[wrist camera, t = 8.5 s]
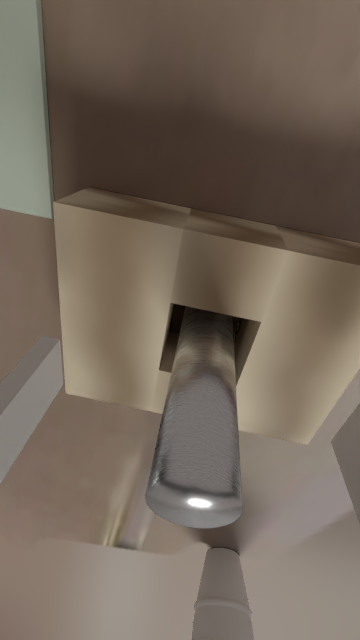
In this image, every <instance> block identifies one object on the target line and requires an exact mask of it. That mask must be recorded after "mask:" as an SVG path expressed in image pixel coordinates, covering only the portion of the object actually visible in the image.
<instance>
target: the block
mask: <svg viewBox="0 0 360 640" xmlns="http://www.w3.org/2000/svg"><path fill="white" fill-rule="evenodd" d="M53 210H54V224H55V239H56V254H57V269H58V284H59V298H60V313H61V328H62V343H63V358H64V372H65V387H66V393H67V394H71V395H76V396H81V397H86V398H90V399H95V400H100V401H104V402H109V403H114V404H118V405H123V406H128V407H132V408H137V409H142V410H146V411H151V412H156V413H160V414H163V410H164V405H165V400H166V396H167V391H168V386H169V381H170V377H171V372H172V367H173V362H174V358H175V353H176V348H177V343H178V339H179V334H180V333H175V332H170V331H169V329H170V323H171V318H172V313H173V307H174V304H178V305H183V306H188V307H192V308H197V309H202V310H207V311H212V312H216V313H221V314H226V315H231V316H235V317H240V318H243V320H242V323H241V326H240V329H239V332H238V335H237V338H236V341H235V344H234V359H235V378H236V396H237V415H238V430H240V431H245V432H249V433H254V434H259V435H263V436H268V437H273V438H277V439H282V440H287V441H291V442H296V443H301V444H305V445H307V444H308V443H309V441H310V440H311V439H312V437H313V436H314V434H315V433H316V431H317V430H318V428H319V427H320V426H321V424H322V423H323V421H324V420H325V418H326V417H327V415H328V414H329V412H330V411H331V410H332V408H333V407H334V405H335V404H336V402H337V401H338V399H339V398H340V396H341V395H342V394H343V392H344V391H345V389H346V388H347V386H348V385H349V383H350V382H351V380H352V379H353V378H354V376H355V375H356V373H357V372H358V370H359V369H360V243H357V242H352V241H347V240H342V239H337V238H332V237H327V236H323V235H318V234H313V233H308V232H303V231H298V230H294V229H289V228H284V227H279V226H274V225H269V224H264V223H260V222H255V221H250V220H245V219H240V218H235V217H230V216H226V215H221V214H216V213H211V212H206V211H201V210H197V209H192V208H187V207H182V206H177V205H172V204H167V203H163V202H158V201H153V200H148V199H143V198H138V197H134V196H129V195H124V194H119V193H114V192H109V191H104V190H100V189H95V188H90V187H88V188H86V189H83V190H81V191H78V192H76V193H73V194H71V195H69V196H66V197H64V198H61V199H59V200H57V201H54V202H53Z"/></svg>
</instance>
